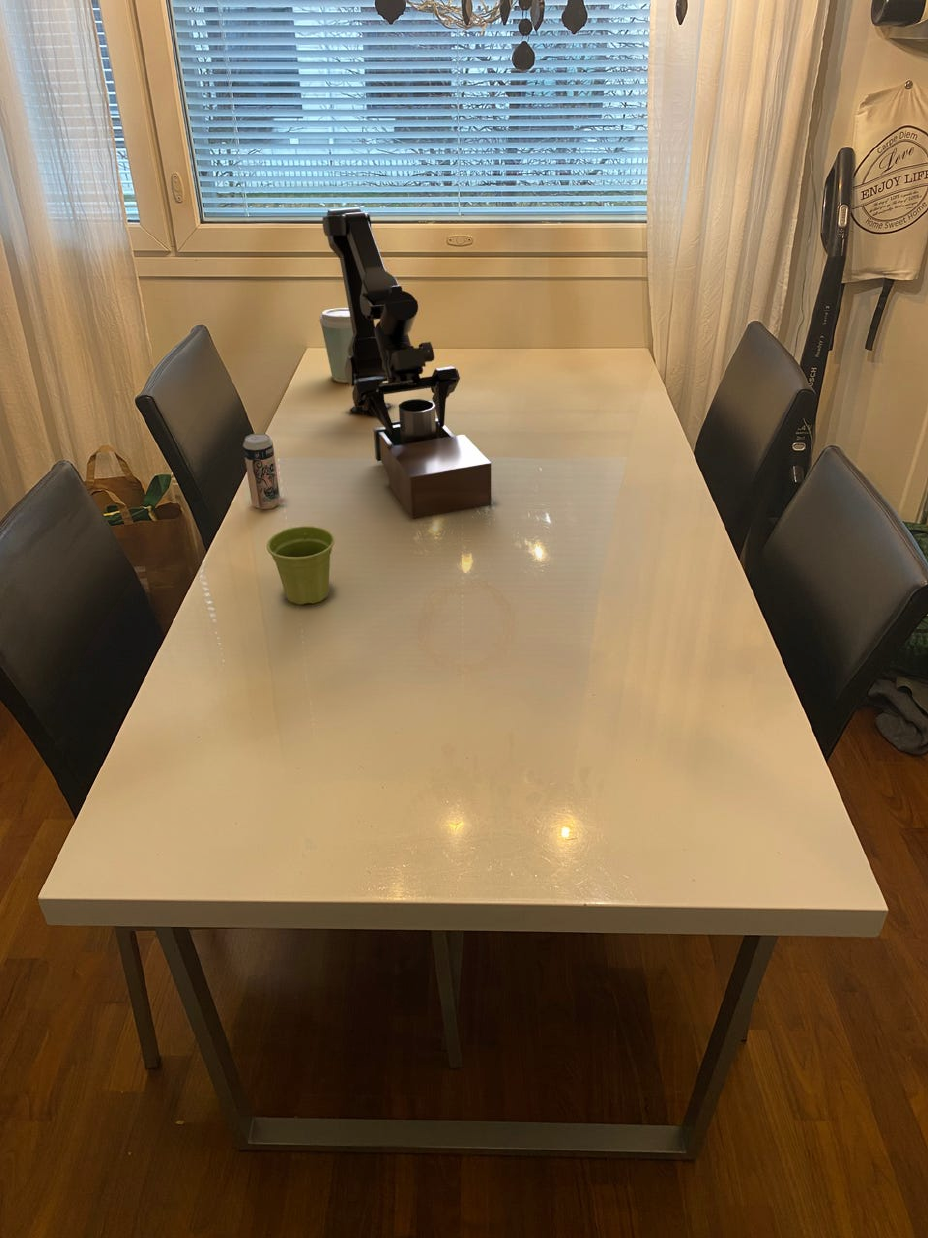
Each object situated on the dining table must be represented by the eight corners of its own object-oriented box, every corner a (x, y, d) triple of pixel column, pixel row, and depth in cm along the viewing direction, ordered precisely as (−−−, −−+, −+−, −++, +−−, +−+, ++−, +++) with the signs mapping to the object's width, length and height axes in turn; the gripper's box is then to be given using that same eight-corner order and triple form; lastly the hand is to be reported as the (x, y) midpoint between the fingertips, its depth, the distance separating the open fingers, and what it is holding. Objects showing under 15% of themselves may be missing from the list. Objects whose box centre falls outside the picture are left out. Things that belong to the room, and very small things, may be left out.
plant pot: (260, 600, 137) (252, 546, 133) (304, 571, 144) (298, 519, 139) (310, 619, 133) (303, 564, 128) (353, 589, 139) (348, 536, 135)
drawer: (369, 450, 179) (366, 420, 176) (434, 440, 183) (433, 409, 179) (395, 485, 166) (393, 453, 163) (464, 473, 170) (463, 442, 167)
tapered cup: (411, 452, 176) (409, 397, 170) (442, 458, 173) (440, 401, 168) (396, 466, 171) (392, 409, 165) (427, 471, 169) (424, 414, 163)
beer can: (265, 513, 160) (256, 446, 153) (246, 505, 162) (235, 439, 156) (286, 502, 163) (278, 436, 157) (267, 495, 166) (257, 430, 159)
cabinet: (389, 486, 168) (386, 446, 164) (464, 473, 172) (463, 434, 168) (412, 518, 157) (410, 476, 153) (491, 504, 161) (491, 462, 157)
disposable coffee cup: (328, 370, 219) (322, 303, 211) (375, 369, 219) (370, 303, 211) (320, 386, 211) (314, 317, 202) (369, 386, 210) (364, 317, 202)
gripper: (350, 333, 161) (373, 418, 159) (455, 320, 166) (478, 402, 164) (343, 365, 172) (364, 445, 169) (441, 352, 177) (463, 429, 174)
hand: (417, 430), depth 169 cm, fingers open, 9 cm apart
